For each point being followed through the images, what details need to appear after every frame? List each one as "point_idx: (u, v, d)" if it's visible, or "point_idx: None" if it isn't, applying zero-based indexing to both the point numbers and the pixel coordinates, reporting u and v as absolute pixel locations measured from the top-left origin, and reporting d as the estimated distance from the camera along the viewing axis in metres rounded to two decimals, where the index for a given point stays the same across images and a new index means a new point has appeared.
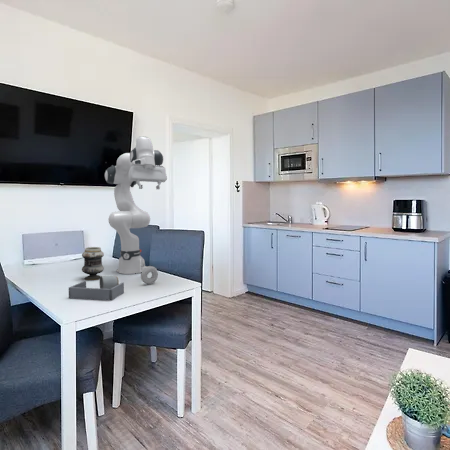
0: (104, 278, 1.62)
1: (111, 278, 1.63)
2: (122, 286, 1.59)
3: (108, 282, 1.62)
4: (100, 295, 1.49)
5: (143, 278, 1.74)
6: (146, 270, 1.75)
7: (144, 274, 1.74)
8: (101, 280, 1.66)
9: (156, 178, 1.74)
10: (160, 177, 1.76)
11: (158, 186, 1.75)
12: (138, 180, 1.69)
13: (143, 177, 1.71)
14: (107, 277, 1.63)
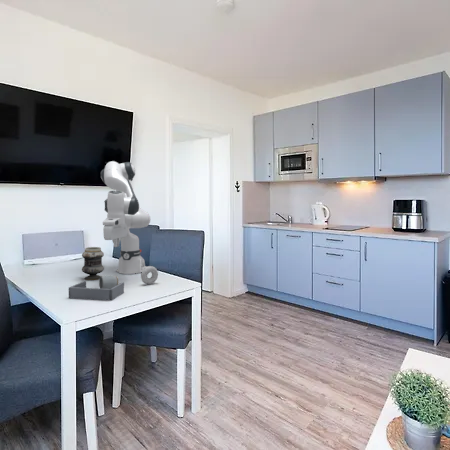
0: (104, 278, 1.62)
1: (110, 278, 1.64)
2: (122, 286, 1.59)
3: (108, 282, 1.62)
4: (100, 295, 1.49)
5: (143, 278, 1.74)
6: (146, 270, 1.75)
7: (144, 274, 1.74)
8: (101, 280, 1.67)
9: (122, 236, 1.78)
10: (124, 234, 1.80)
11: (118, 244, 1.75)
12: (116, 239, 1.73)
13: (116, 237, 1.71)
14: (107, 277, 1.64)
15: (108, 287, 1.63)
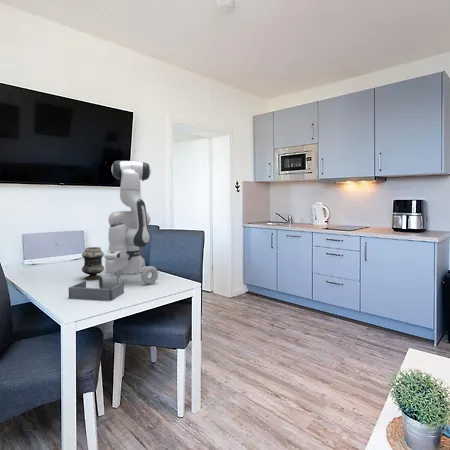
0: (104, 278, 1.63)
1: (110, 278, 1.64)
2: (122, 286, 1.59)
3: (108, 282, 1.63)
4: (100, 295, 1.49)
5: (143, 278, 1.74)
6: (146, 270, 1.75)
7: (144, 274, 1.74)
8: (101, 280, 1.67)
9: (123, 267, 1.79)
10: (125, 265, 1.82)
11: (119, 276, 1.76)
12: (118, 271, 1.74)
13: (118, 269, 1.72)
14: (107, 277, 1.64)
15: (108, 287, 1.63)
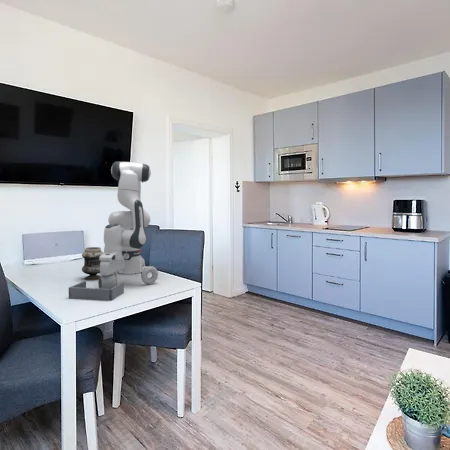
0: (103, 277, 1.62)
1: (109, 278, 1.64)
2: (122, 286, 1.59)
3: (106, 281, 1.62)
4: (100, 295, 1.49)
5: (143, 278, 1.74)
6: (146, 270, 1.75)
7: (144, 274, 1.74)
8: (100, 279, 1.67)
9: (119, 269, 1.75)
10: (121, 267, 1.78)
11: None
12: (113, 273, 1.70)
13: (113, 271, 1.68)
14: (106, 277, 1.64)
15: (107, 287, 1.63)
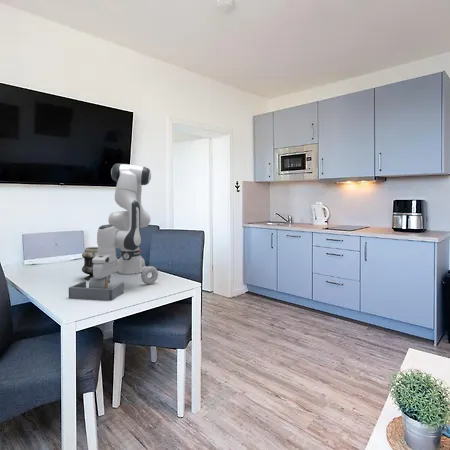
0: (91, 280, 1.57)
1: (98, 281, 1.57)
2: (122, 286, 1.59)
3: (94, 285, 1.56)
4: (100, 295, 1.49)
5: (143, 278, 1.74)
6: (146, 270, 1.75)
7: (144, 274, 1.74)
8: None
9: (113, 271, 1.68)
10: (116, 269, 1.71)
11: (109, 281, 1.66)
12: (107, 276, 1.63)
13: (107, 274, 1.61)
14: (95, 279, 1.58)
15: None
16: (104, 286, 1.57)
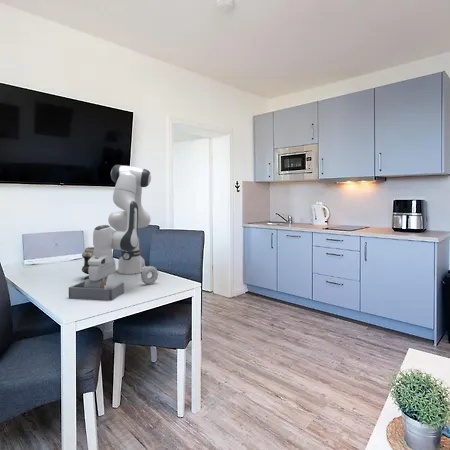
0: (87, 282, 1.54)
1: (94, 282, 1.54)
2: (122, 286, 1.59)
3: (89, 286, 1.53)
4: (100, 295, 1.49)
5: (143, 278, 1.74)
6: (146, 270, 1.75)
7: (144, 274, 1.74)
8: None
9: (110, 273, 1.65)
10: (112, 271, 1.68)
11: (105, 283, 1.62)
12: (103, 278, 1.60)
13: (103, 276, 1.58)
14: (90, 281, 1.55)
15: None
16: (99, 288, 1.54)
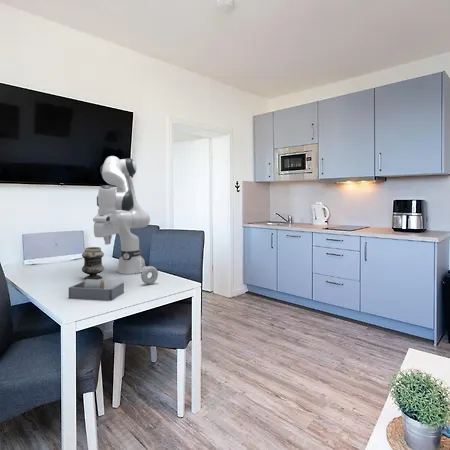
0: (86, 282, 1.54)
1: (93, 283, 1.55)
2: (122, 286, 1.59)
3: (89, 286, 1.53)
4: (100, 295, 1.49)
5: (143, 278, 1.74)
6: (146, 270, 1.75)
7: (144, 274, 1.74)
8: None
9: (114, 233, 1.70)
10: (116, 231, 1.72)
11: (110, 241, 1.67)
12: (107, 236, 1.64)
13: (107, 234, 1.63)
14: (90, 281, 1.55)
15: None
16: (99, 288, 1.54)
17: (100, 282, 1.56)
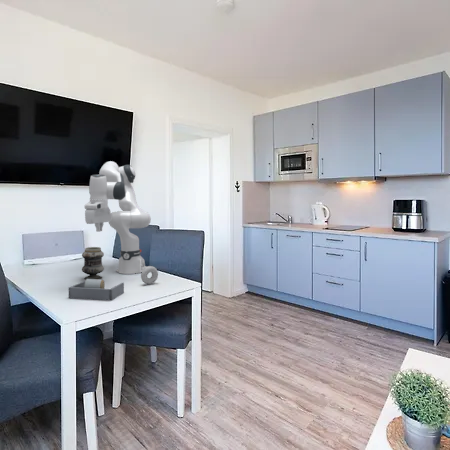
0: (87, 281, 1.55)
1: (94, 282, 1.55)
2: (122, 286, 1.59)
3: (89, 286, 1.54)
4: (100, 295, 1.49)
5: (143, 278, 1.74)
6: (146, 270, 1.75)
7: (144, 274, 1.74)
8: None
9: (105, 220, 1.76)
10: (108, 219, 1.78)
11: (101, 229, 1.73)
12: (99, 224, 1.70)
13: (99, 221, 1.68)
14: (90, 281, 1.55)
15: None
16: (100, 288, 1.55)
17: (100, 282, 1.56)
